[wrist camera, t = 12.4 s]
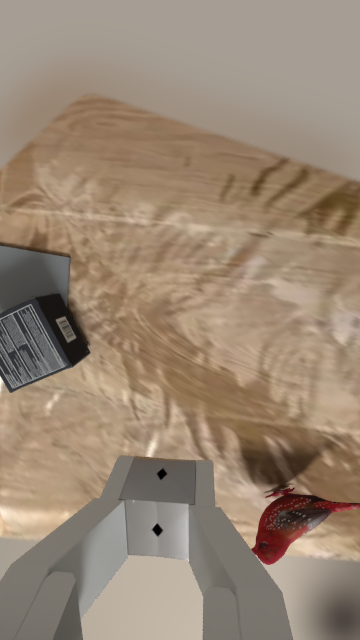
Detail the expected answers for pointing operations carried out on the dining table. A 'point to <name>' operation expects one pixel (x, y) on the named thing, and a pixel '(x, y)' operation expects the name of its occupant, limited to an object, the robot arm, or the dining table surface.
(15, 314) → the small box
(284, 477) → the dining table surface
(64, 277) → the slate tile
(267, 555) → the decorative bird figurine
